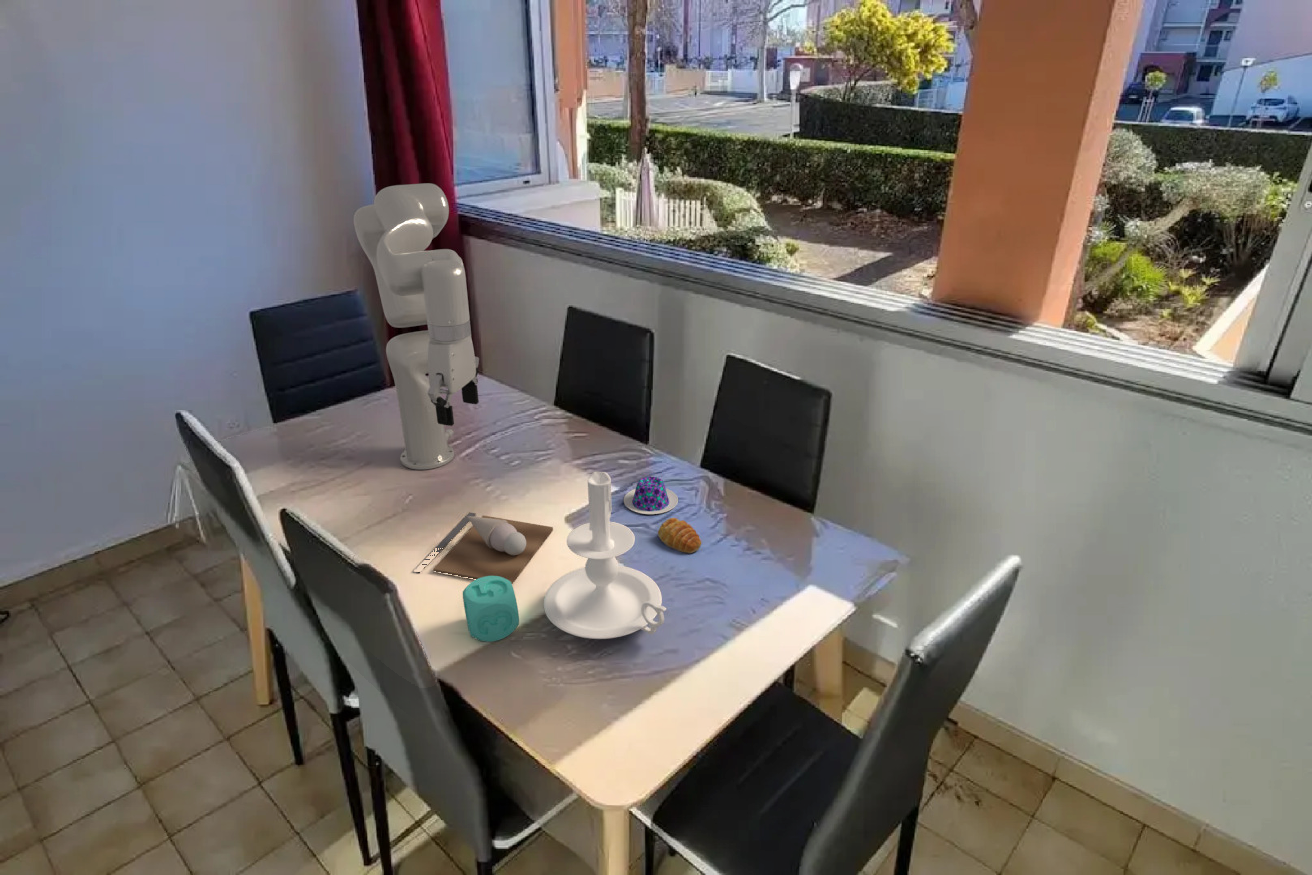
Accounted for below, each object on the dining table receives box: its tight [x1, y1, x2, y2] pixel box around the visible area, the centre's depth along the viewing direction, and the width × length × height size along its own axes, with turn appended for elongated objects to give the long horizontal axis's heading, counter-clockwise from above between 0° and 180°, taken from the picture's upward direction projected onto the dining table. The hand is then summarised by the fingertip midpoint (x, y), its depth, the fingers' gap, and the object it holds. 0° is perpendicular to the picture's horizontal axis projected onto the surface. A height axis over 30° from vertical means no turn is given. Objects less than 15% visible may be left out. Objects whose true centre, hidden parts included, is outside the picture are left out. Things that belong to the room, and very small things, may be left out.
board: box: [432, 514, 554, 585], centre depth 156 cm, size 20×16×1 cm
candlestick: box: [543, 471, 667, 640], centre depth 131 cm, size 21×25×28 cm
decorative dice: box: [462, 576, 520, 643], centre depth 134 cm, size 8×8×8 cm
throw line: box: [422, 512, 477, 565], centre depth 159 cm, size 22×2×1 cm, turn 164°
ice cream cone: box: [466, 515, 526, 555], centre depth 155 cm, size 6×6×15 cm
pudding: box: [623, 476, 679, 515], centre depth 172 cm, size 12×12×5 cm
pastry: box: [657, 517, 702, 554], centre depth 158 cm, size 9×7×4 cm
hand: (458, 413), depth 151 cm, fingers open, 9 cm apart
